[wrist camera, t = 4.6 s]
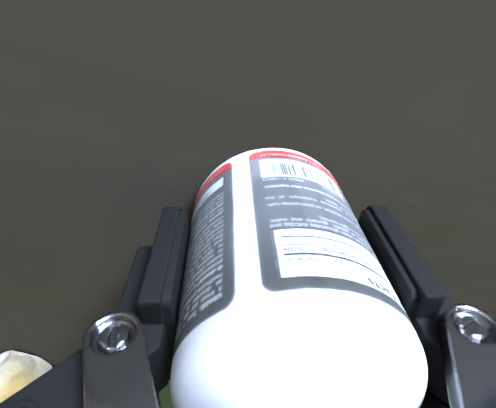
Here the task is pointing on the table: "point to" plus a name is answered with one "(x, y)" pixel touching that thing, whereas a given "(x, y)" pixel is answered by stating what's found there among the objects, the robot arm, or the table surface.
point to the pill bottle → (287, 297)
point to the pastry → (19, 371)
